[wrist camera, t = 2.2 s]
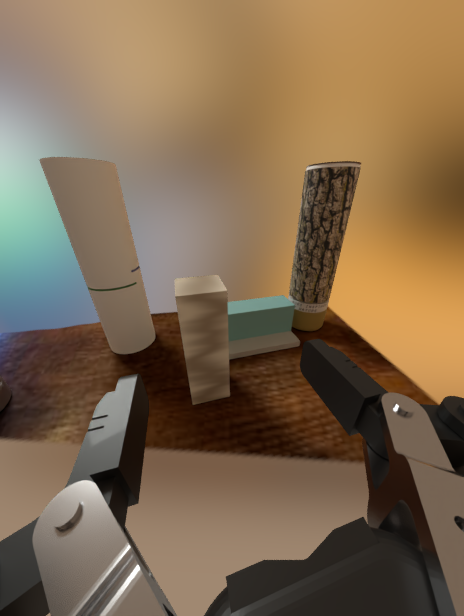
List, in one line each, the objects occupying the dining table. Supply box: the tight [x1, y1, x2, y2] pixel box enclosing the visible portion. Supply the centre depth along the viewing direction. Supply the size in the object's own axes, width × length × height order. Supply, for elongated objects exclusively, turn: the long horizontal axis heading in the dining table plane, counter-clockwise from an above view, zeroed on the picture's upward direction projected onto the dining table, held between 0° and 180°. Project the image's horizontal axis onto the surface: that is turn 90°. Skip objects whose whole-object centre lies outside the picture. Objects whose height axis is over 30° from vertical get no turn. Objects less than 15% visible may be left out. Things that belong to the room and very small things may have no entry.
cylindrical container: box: [40, 157, 156, 354], centre depth 29 cm, size 7×7×25 cm
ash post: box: [175, 275, 230, 405], centre depth 23 cm, size 4×4×14 cm
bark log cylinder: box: [288, 161, 361, 331], centre depth 33 cm, size 7×7×25 cm
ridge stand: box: [228, 295, 300, 359], centre depth 34 cm, size 15×10×6 cm, turn 105°
